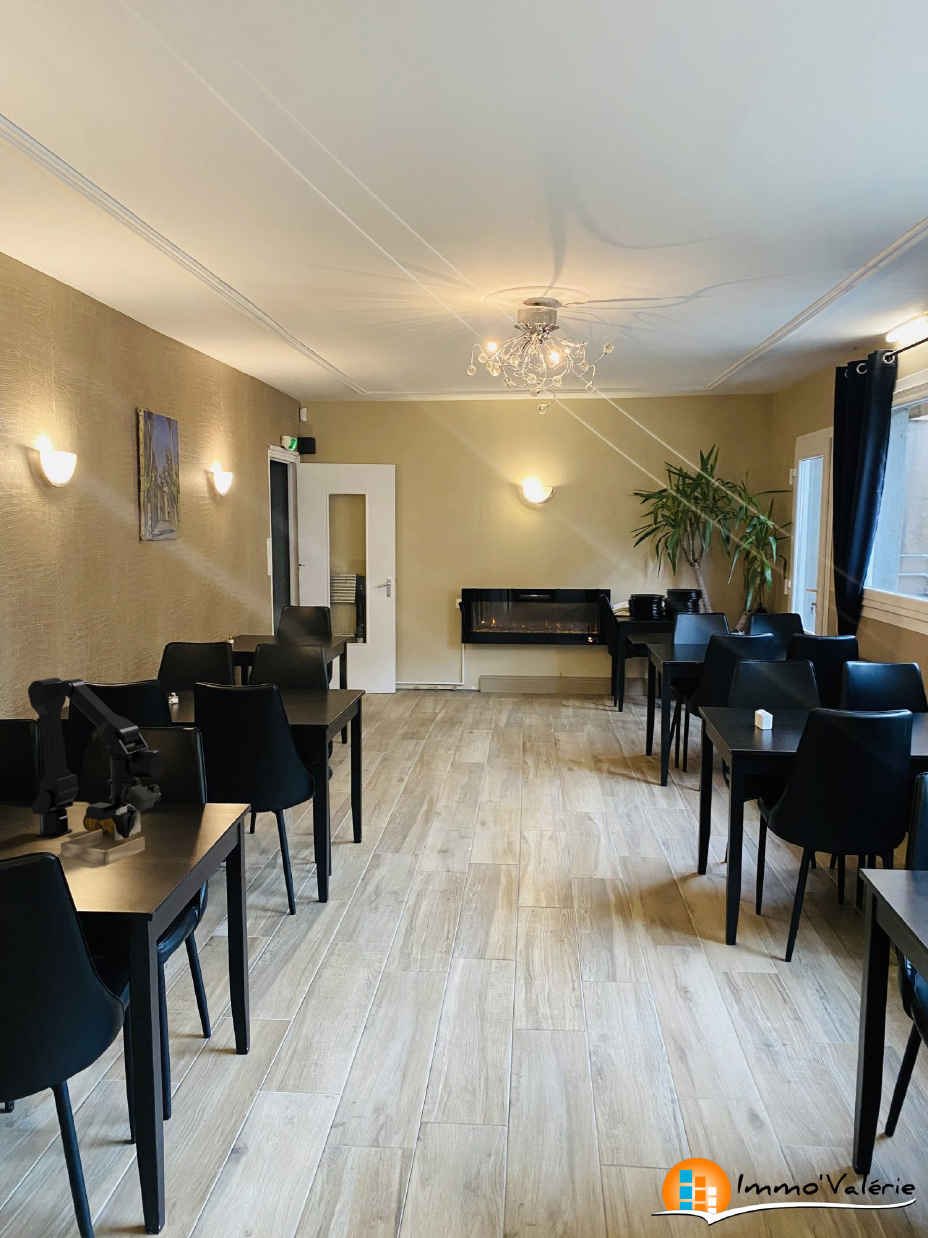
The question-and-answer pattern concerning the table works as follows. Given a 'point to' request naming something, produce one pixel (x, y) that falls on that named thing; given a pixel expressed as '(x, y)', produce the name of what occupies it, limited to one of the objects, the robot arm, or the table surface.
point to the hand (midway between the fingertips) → (125, 838)
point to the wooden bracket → (81, 851)
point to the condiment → (110, 826)
